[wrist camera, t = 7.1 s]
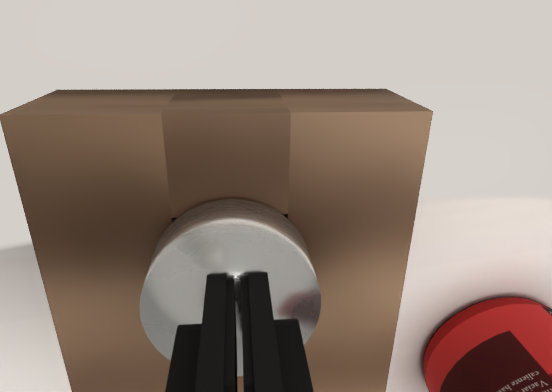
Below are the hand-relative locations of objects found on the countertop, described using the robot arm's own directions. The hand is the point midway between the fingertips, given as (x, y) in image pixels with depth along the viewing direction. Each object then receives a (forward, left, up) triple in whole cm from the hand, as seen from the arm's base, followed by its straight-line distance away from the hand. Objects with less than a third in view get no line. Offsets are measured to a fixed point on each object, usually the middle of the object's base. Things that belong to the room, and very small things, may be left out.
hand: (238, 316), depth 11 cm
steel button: (0, 0, -6) cm, 6 cm away
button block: (+5, 0, -6) cm, 8 cm away
